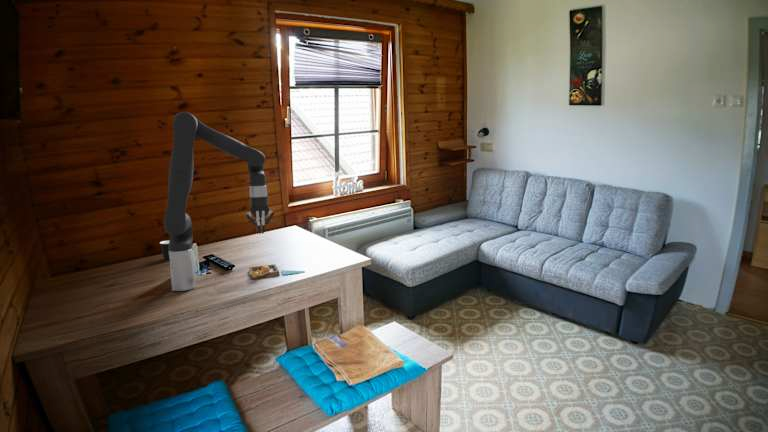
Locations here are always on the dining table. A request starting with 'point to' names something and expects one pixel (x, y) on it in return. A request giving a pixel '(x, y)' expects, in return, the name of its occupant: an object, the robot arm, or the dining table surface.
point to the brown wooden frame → (268, 274)
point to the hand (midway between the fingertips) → (261, 233)
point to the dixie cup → (165, 250)
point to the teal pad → (290, 272)
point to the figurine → (258, 272)
